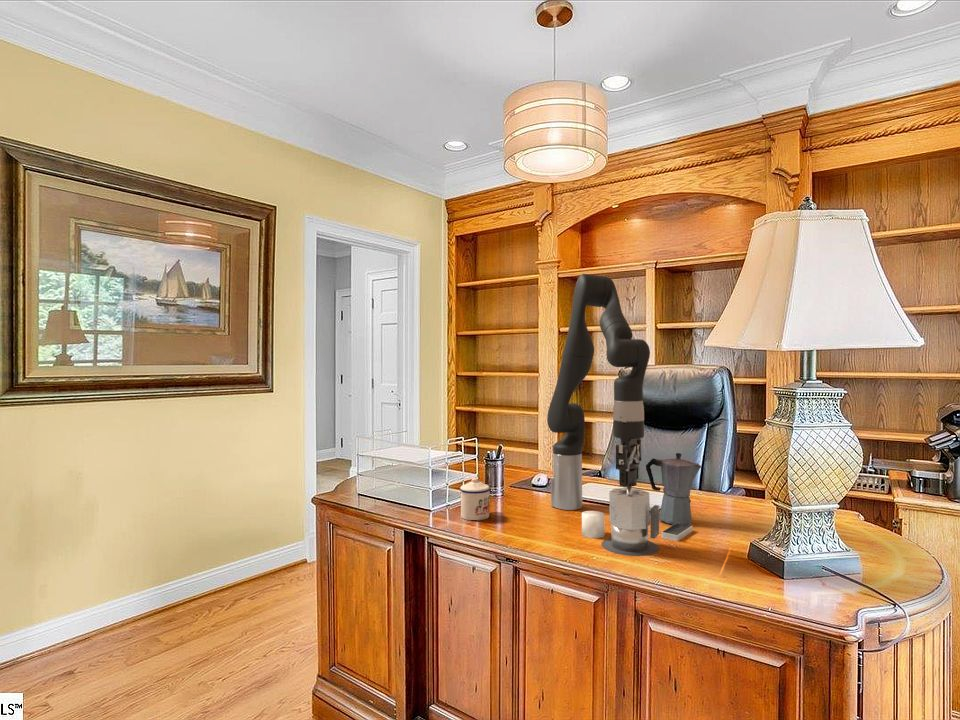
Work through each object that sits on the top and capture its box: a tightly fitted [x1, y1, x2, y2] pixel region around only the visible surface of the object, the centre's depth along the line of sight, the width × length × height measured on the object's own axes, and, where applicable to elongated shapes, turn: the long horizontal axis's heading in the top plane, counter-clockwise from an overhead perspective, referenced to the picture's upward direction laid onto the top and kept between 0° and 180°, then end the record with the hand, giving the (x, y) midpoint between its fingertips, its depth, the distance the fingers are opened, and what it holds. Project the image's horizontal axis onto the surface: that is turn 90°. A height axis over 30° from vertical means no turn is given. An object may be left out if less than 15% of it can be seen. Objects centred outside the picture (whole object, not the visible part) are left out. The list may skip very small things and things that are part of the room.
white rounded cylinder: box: [581, 510, 606, 539], centre depth 145 cm, size 6×6×6 cm
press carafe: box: [608, 487, 660, 552], centre depth 135 cm, size 11×9×14 cm
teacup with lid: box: [459, 477, 491, 521], centre depth 165 cm, size 12×9×12 cm
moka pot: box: [645, 452, 703, 525], centre depth 157 cm, size 10×15×20 cm, turn 78°
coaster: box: [600, 537, 660, 557], centre depth 136 cm, size 14×14×1 cm
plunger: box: [622, 463, 640, 495], centre depth 136 cm, size 5×5×14 cm
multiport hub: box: [661, 523, 694, 542], centre depth 144 cm, size 4×11×2 cm, turn 139°
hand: (629, 482), depth 136 cm, fingers open, 8 cm apart
